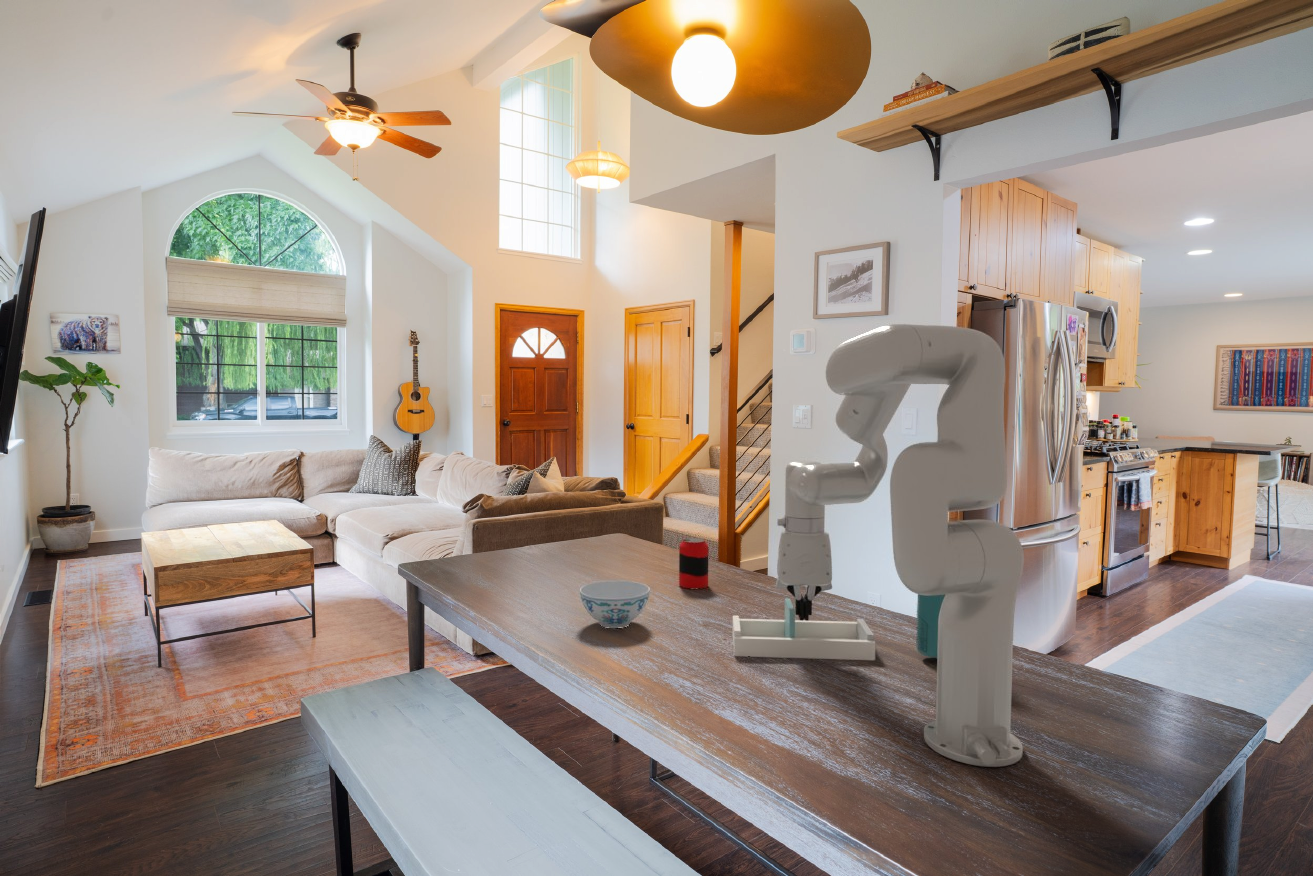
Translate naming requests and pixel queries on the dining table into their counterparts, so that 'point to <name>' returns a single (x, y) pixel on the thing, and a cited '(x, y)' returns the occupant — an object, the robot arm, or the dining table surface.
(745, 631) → the white divided tray
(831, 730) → the dining table surface
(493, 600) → the dining table surface
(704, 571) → the soda can
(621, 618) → the chinaware
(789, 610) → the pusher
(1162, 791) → the dining table surface
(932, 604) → the beverage bottle
